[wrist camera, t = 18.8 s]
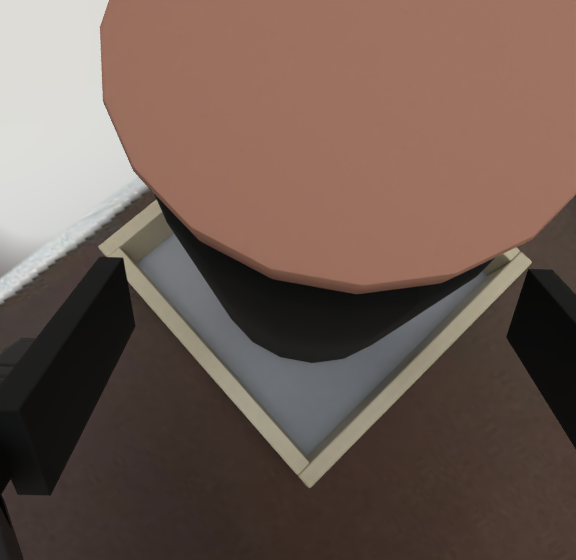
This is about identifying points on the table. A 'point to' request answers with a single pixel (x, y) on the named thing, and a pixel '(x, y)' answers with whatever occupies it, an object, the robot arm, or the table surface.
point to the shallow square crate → (287, 372)
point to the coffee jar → (344, 149)
